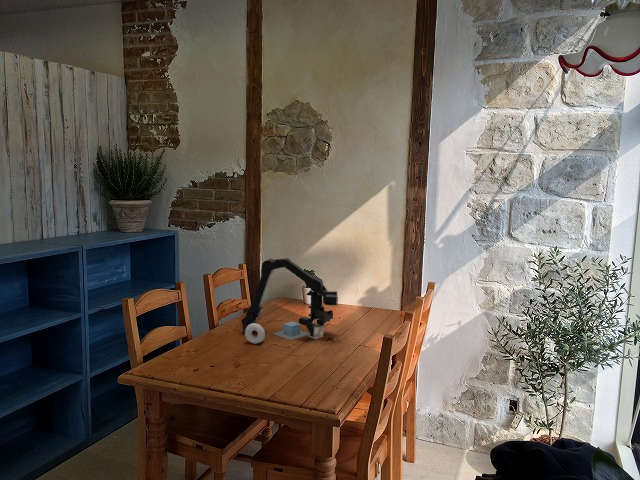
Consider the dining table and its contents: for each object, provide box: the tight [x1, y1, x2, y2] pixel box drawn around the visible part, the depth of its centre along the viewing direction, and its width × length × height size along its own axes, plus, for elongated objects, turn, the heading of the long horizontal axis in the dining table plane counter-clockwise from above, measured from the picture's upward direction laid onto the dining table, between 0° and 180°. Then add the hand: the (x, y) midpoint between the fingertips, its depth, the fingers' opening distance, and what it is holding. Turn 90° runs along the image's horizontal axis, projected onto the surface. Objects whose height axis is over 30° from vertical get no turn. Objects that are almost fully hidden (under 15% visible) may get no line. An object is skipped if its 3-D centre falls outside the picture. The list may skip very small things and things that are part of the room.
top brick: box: [308, 323, 324, 340], centre depth 257 cm, size 5×5×6 cm
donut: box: [244, 322, 266, 345], centre depth 248 cm, size 10×3×10 cm, turn 73°
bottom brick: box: [282, 321, 301, 336], centre depth 261 cm, size 6×6×5 cm
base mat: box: [271, 329, 309, 341], centre depth 262 cm, size 14×14×1 cm
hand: (315, 335), depth 257 cm, fingers closed on top brick, 5 cm apart
